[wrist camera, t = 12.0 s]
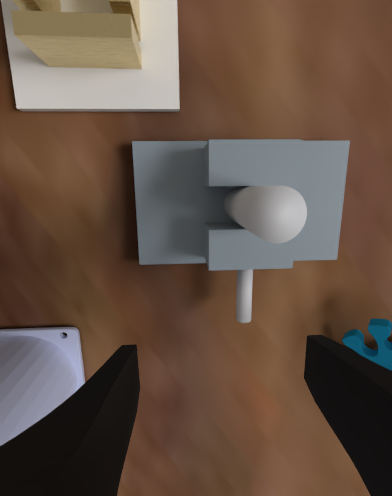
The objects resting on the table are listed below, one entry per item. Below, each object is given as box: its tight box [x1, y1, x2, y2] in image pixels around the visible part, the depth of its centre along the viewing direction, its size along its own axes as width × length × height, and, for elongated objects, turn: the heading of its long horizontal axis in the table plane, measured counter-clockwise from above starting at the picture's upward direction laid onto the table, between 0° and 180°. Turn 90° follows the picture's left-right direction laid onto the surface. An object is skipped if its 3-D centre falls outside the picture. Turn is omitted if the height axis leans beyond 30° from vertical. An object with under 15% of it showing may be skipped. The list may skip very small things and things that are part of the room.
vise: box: [132, 139, 350, 323], centre depth 16 cm, size 14×12×8 cm
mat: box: [1, 0, 180, 112], centre depth 16 cm, size 10×10×1 cm
